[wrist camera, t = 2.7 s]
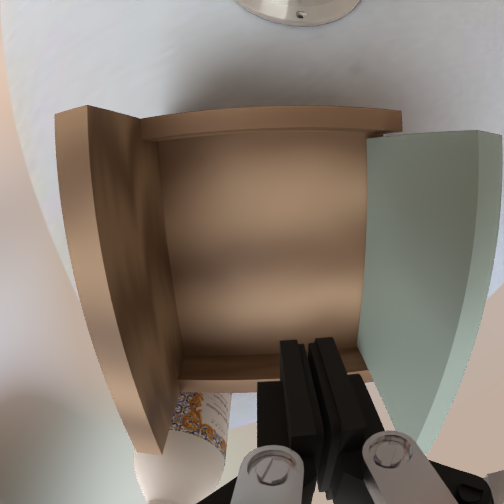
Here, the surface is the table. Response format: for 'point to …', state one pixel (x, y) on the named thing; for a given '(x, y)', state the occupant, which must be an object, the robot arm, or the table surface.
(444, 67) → the table surface
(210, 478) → the bath foam
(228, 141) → the tray
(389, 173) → the panel
